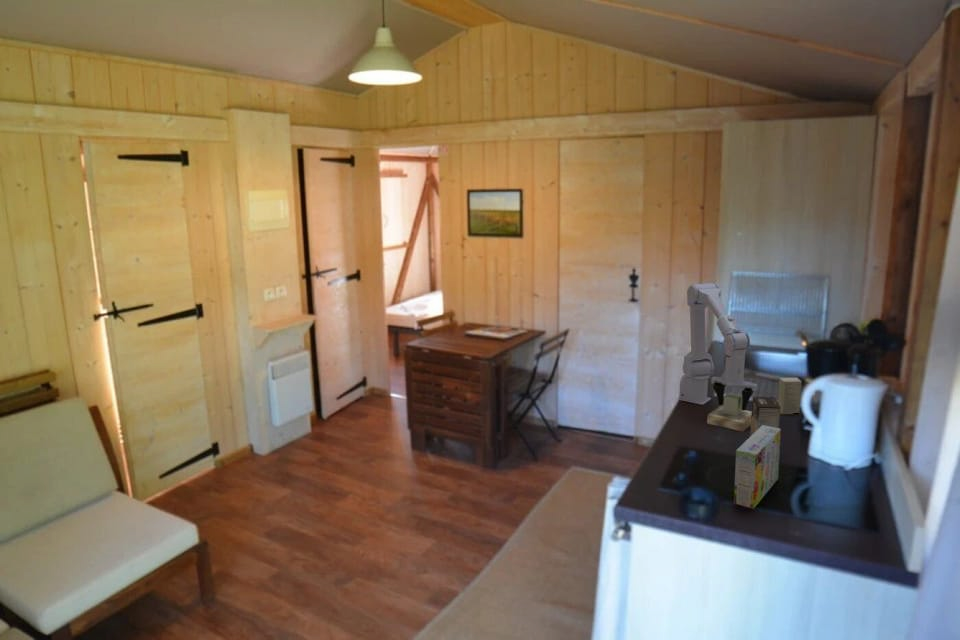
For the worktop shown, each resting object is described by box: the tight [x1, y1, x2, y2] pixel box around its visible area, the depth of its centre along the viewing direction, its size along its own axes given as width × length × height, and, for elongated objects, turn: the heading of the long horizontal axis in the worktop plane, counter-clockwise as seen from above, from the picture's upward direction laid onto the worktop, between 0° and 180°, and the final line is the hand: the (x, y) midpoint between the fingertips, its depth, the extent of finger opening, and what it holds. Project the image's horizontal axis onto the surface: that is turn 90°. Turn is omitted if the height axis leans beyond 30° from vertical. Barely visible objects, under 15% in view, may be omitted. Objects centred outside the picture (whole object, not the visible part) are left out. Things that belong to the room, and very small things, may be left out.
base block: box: [706, 404, 752, 432], centre depth 222 cm, size 12×12×3 cm
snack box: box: [733, 425, 782, 510], centre depth 173 cm, size 21×6×15 cm, turn 141°
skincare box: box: [777, 376, 803, 415], centre depth 229 cm, size 6×4×12 cm
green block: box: [722, 392, 742, 416], centre depth 222 cm, size 5×5×6 cm
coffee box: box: [749, 396, 781, 438], centre depth 197 cm, size 9×6×16 cm
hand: (732, 407), depth 221 cm, fingers open, 7 cm apart
